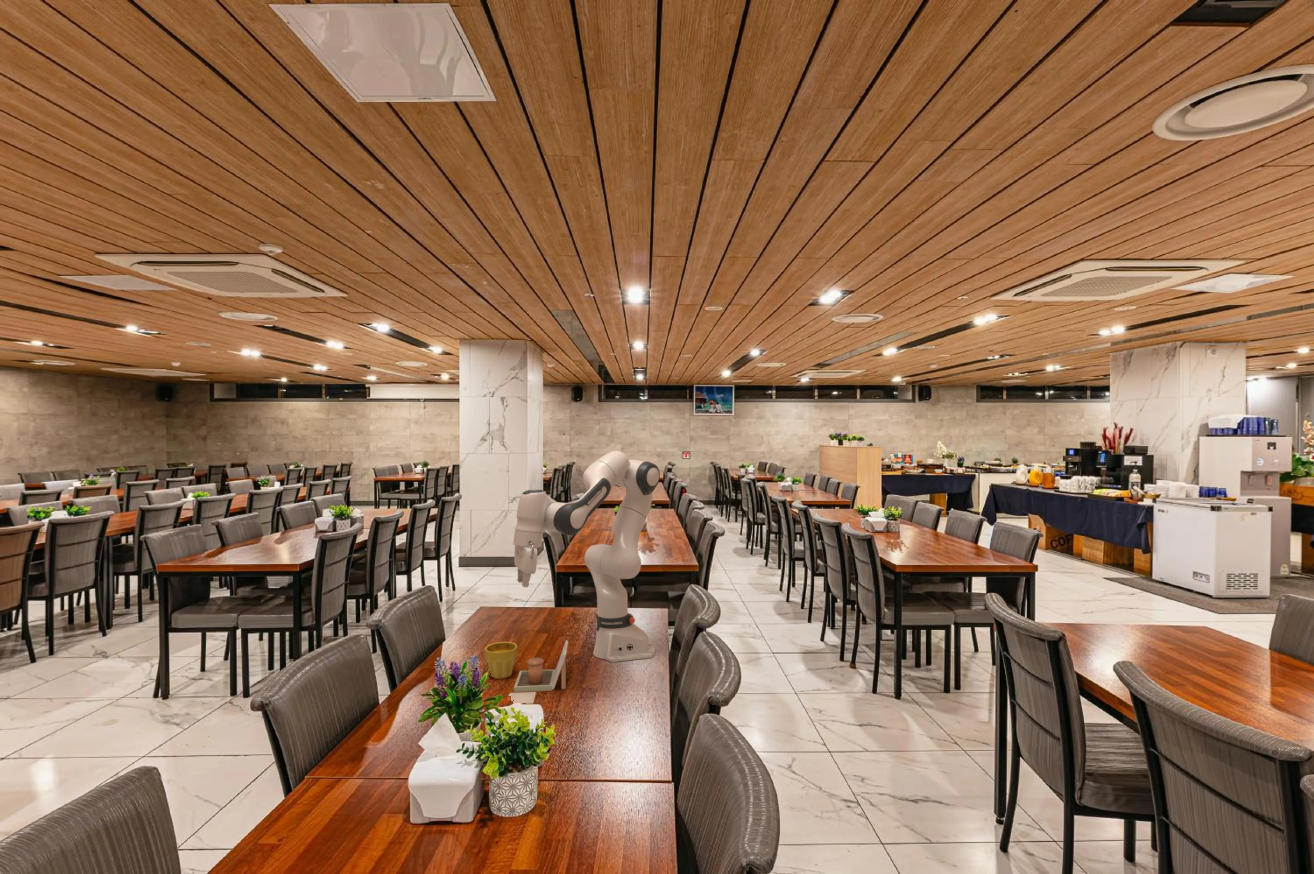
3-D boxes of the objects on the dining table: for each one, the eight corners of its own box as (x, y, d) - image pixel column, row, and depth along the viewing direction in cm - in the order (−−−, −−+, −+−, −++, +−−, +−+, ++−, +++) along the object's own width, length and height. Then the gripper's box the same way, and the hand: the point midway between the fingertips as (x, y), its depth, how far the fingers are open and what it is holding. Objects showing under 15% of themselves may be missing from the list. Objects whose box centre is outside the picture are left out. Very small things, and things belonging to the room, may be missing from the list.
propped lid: (568, 674, 201) (568, 639, 201) (566, 691, 188) (565, 654, 188) (554, 675, 201) (554, 640, 201) (551, 692, 187) (551, 654, 187)
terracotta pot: (544, 678, 196) (544, 657, 196) (542, 685, 191) (542, 662, 191) (528, 679, 196) (528, 657, 196) (526, 685, 191) (526, 663, 191)
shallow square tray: (555, 675, 201) (555, 669, 201) (552, 692, 187) (552, 685, 187) (519, 676, 200) (519, 670, 200) (513, 693, 186) (513, 687, 186)
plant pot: (509, 683, 194) (508, 652, 194) (479, 681, 196) (479, 650, 197) (522, 671, 204) (522, 642, 205) (494, 669, 207) (493, 640, 207)
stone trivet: (536, 694, 186) (535, 691, 186) (533, 705, 178) (533, 702, 178) (509, 695, 185) (509, 692, 185) (505, 706, 177) (505, 704, 177)
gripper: (544, 544, 184) (538, 590, 183) (532, 538, 203) (527, 580, 202) (523, 542, 182) (517, 589, 181) (513, 536, 201) (508, 579, 200)
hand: (522, 584), depth 191 cm, fingers open, 8 cm apart
